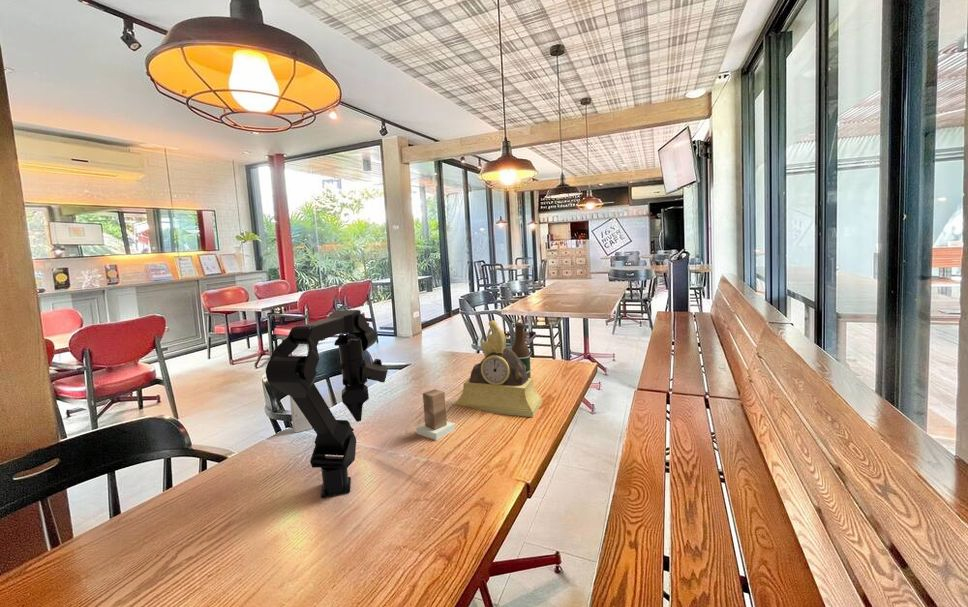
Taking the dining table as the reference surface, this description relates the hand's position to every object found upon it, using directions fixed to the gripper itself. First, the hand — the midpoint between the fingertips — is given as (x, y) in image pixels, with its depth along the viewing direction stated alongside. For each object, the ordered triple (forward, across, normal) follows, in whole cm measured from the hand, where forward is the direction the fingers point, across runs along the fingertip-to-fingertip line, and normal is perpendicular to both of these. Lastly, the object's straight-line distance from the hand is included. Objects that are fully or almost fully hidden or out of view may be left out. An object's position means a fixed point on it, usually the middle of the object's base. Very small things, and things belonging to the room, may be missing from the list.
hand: (358, 413), depth 113 cm
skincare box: (+14, +27, +18) cm, 35 cm away
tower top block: (+12, +6, -21) cm, 25 cm away
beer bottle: (+17, +42, -62) cm, 77 cm away
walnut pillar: (+10, +6, -21) cm, 24 cm away
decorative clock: (+16, +21, -45) cm, 52 cm away
